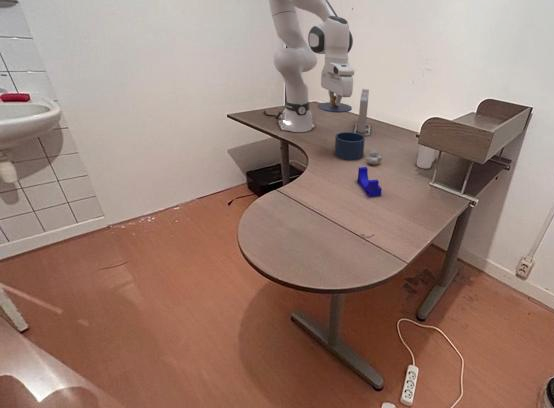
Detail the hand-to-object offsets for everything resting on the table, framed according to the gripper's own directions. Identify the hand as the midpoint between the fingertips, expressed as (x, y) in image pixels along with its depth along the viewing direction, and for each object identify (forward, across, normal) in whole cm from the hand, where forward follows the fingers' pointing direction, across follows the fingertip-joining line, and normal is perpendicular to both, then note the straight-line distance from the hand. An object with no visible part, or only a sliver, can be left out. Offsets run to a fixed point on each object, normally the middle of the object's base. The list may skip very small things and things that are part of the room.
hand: (334, 103), depth 120 cm
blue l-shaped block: (+23, +32, -2) cm, 39 cm away
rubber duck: (+23, +14, +12) cm, 30 cm away
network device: (+23, -28, +33) cm, 49 cm away
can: (+23, +24, +32) cm, 47 cm away
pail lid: (+2, 0, 0) cm, 2 cm away
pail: (+23, +1, +8) cm, 24 cm away
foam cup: (+23, +20, +39) cm, 50 cm away
